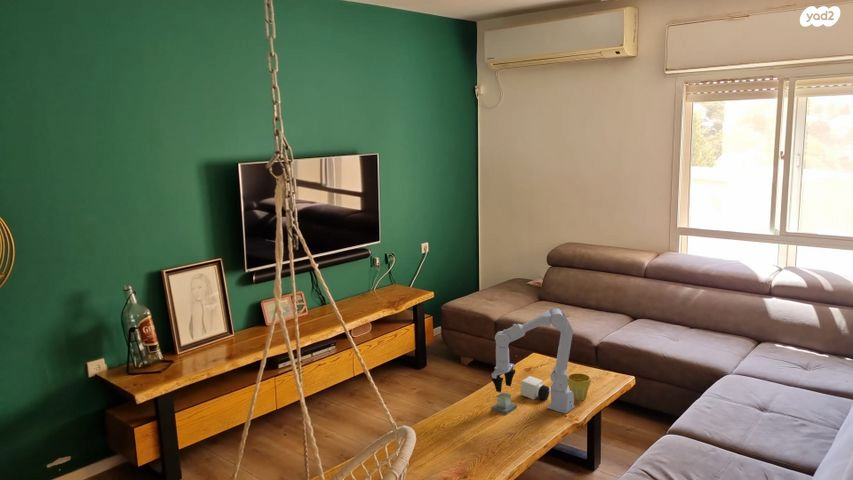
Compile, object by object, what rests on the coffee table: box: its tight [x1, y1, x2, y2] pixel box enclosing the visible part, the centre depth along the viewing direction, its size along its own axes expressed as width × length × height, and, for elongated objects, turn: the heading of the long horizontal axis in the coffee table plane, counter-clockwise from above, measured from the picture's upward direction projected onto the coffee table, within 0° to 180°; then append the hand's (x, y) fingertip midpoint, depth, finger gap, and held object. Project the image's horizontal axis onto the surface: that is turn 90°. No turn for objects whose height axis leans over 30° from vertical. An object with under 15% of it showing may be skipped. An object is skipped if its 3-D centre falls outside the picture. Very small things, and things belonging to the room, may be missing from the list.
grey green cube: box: [496, 392, 512, 409], centre depth 287 cm, size 5×5×5 cm
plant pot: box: [567, 372, 592, 402], centre depth 295 cm, size 10×10×10 cm
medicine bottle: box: [520, 375, 551, 401], centre depth 298 cm, size 7×7×12 cm
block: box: [490, 403, 518, 416], centre depth 288 cm, size 8×8×2 cm
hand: (503, 388), depth 286 cm, fingers open, 7 cm apart
